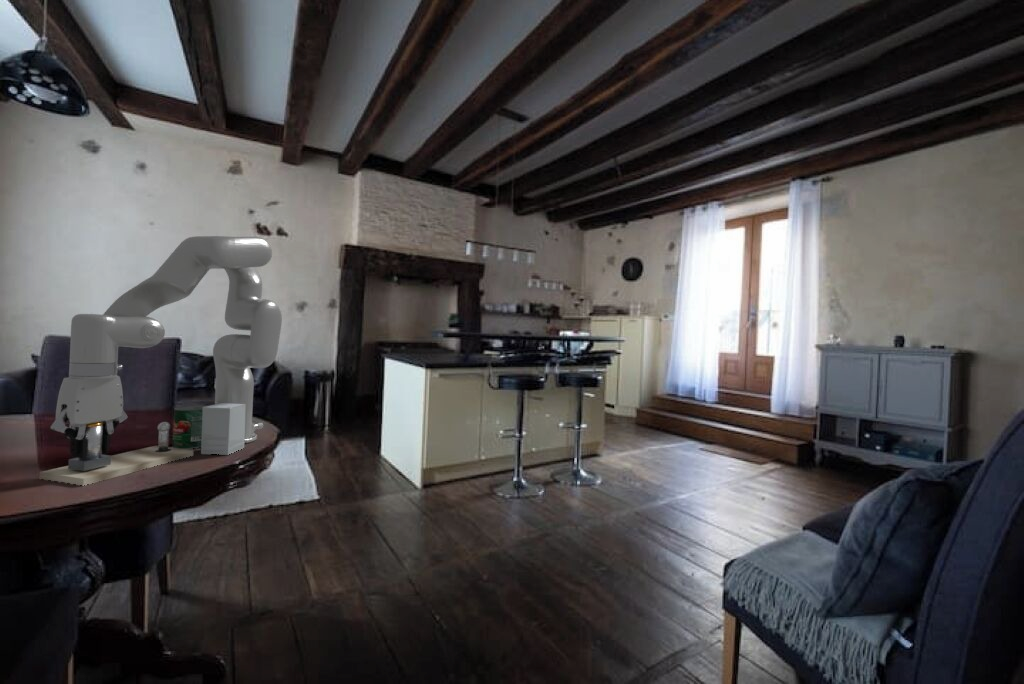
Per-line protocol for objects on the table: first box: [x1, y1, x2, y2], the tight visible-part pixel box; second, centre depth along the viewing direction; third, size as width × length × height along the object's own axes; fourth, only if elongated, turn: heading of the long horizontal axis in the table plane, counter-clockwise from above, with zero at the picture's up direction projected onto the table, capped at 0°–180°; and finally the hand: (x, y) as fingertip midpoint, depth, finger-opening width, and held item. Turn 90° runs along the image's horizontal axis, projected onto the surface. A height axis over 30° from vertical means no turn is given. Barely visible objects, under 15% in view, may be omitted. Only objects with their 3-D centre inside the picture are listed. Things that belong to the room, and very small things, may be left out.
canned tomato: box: [171, 404, 209, 450], centre depth 120 cm, size 8×8×11 cm
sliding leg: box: [67, 422, 112, 471], centre depth 94 cm, size 5×4×10 cm
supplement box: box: [200, 403, 246, 456], centre depth 116 cm, size 7×7×13 cm
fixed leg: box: [157, 421, 172, 451], centre depth 109 cm, size 3×3×7 cm
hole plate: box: [39, 445, 194, 487], centre depth 100 cm, size 24×12×2 cm, turn 168°
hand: (90, 453), depth 94 cm, fingers closed on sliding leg, 3 cm apart
